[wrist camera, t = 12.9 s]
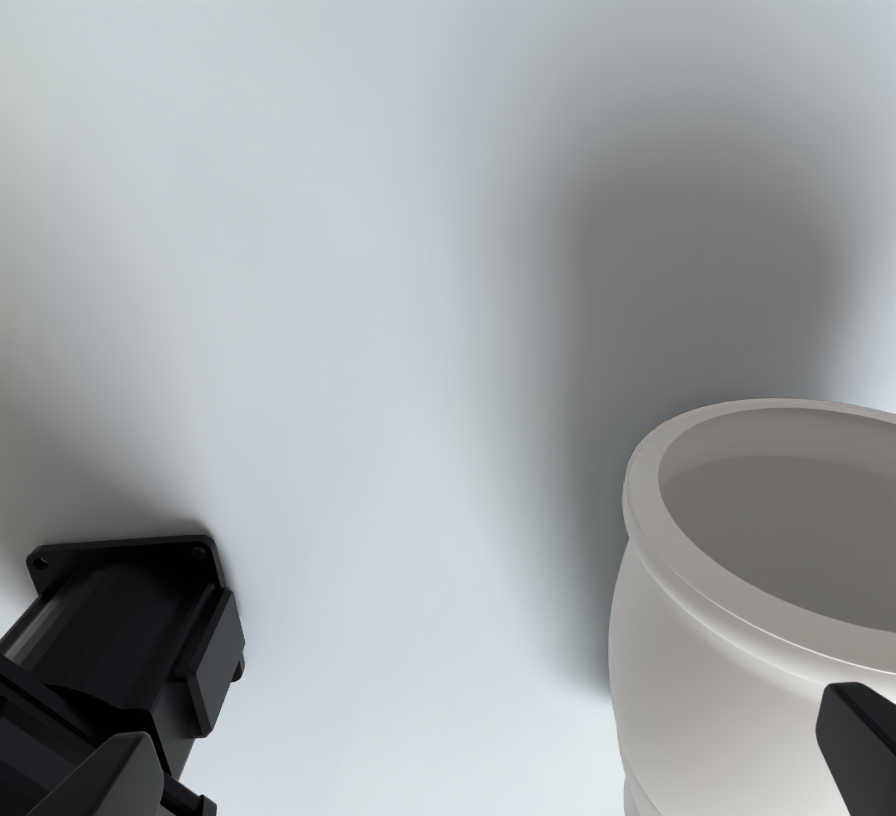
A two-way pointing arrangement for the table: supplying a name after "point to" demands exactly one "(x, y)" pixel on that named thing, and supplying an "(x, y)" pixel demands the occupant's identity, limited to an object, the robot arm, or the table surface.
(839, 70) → the table surface
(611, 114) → the table surface
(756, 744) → the jar
